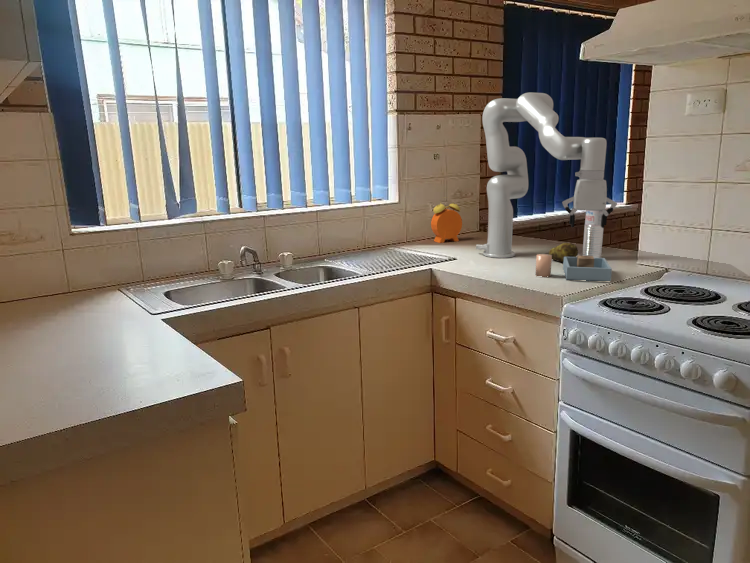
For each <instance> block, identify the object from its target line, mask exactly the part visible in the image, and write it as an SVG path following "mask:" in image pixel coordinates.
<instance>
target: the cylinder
mask: <svg viewBox="0 0 750 563" xmlns="http://www.w3.org/2000/svg"><path fill="white" fill-rule="evenodd" d="M535 260H536V261H535V273H534V274H535V275H537V276H542V277H541V278H548V277H547V276H550V277H551V275H552V273H551V272H552V262H553V261H552V260H553V259H552V255H549V253H548V254H545V253H537V254H536V258H535ZM537 276H536V277H537Z"/></svg>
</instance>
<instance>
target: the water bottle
mask: <svg viewBox="0 0 750 563" xmlns="http://www.w3.org/2000/svg"><path fill="white" fill-rule="evenodd" d="M602 215H603V213H602V211H591V210H585V220H584V230H583V242H582V243H583V244H582V255H581V256H593V257H594V258H602V250H603V249H602V248H603V247H602V246H603V239H604V238H603V237H604V228H602V227H601V217H602Z"/></svg>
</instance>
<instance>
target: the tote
mask: <svg viewBox="0 0 750 563" xmlns="http://www.w3.org/2000/svg"><path fill="white" fill-rule="evenodd" d="M577 257H578V256H576V257H564V262H562V265H563V266H562V270H564V271H563V274H564V273H565V274H564V277H565V280H586V281H585V282H589V281H612V271H613V268H612V267H611V265H610V263H609V262H608V261H607V259H606V258H605V257H601V258H594V268H590V267H577Z"/></svg>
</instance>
